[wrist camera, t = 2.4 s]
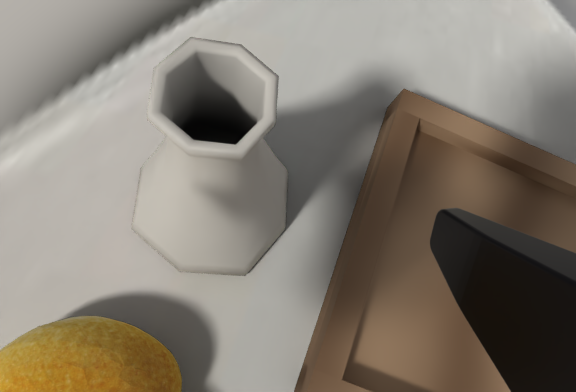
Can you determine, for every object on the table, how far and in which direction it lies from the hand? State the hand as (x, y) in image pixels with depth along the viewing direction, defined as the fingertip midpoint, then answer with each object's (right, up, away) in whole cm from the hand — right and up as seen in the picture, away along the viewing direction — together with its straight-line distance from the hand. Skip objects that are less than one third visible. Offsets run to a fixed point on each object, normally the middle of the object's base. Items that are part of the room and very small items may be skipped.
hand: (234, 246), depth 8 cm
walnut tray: (+11, -4, +12) cm, 17 cm away
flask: (-2, +1, +11) cm, 12 cm away
